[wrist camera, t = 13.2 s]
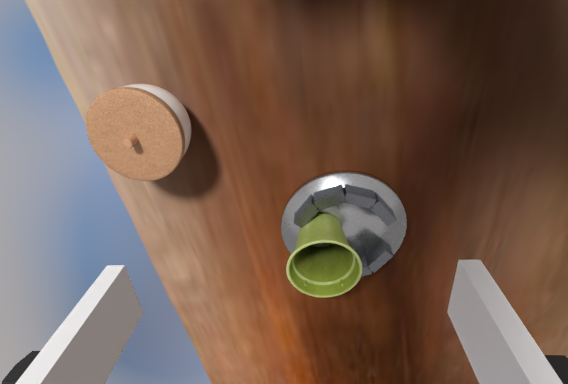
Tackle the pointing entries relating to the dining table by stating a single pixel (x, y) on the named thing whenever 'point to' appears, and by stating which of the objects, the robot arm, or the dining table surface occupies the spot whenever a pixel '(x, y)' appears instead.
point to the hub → (350, 214)
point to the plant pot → (323, 259)
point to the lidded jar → (139, 131)
